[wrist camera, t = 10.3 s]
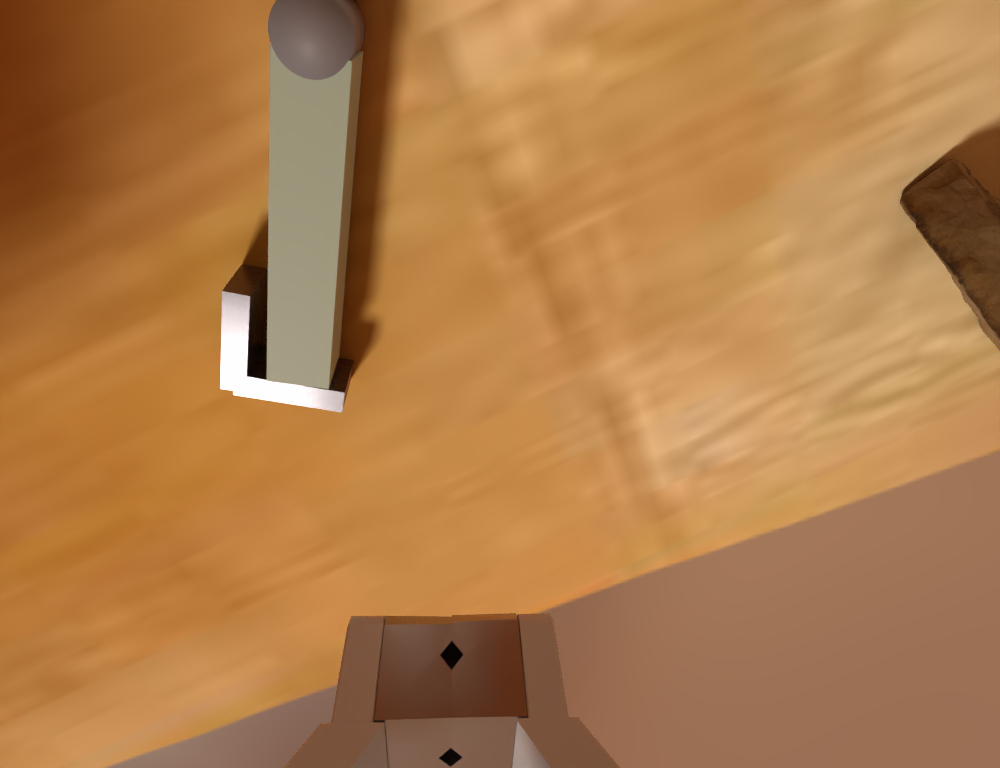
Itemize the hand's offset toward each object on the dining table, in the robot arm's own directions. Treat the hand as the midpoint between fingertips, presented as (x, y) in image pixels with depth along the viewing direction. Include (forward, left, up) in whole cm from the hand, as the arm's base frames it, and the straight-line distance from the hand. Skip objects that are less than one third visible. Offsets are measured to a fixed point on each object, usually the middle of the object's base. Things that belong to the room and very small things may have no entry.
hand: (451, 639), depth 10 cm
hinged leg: (0, +5, -19) cm, 20 cm away
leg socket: (-6, +6, -19) cm, 21 cm away
